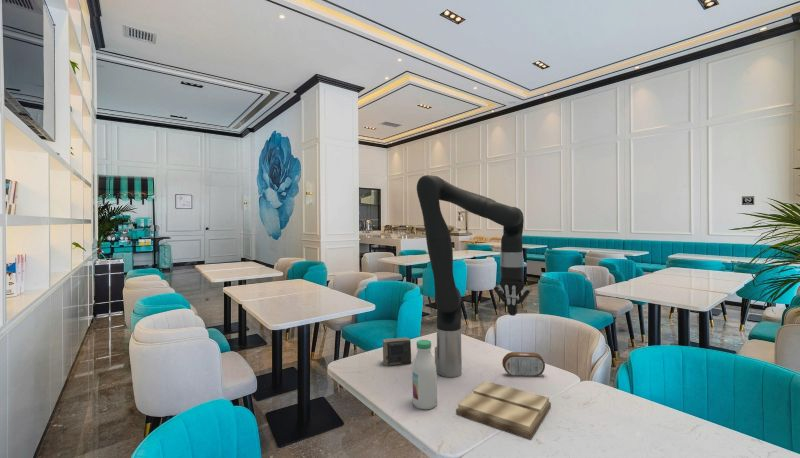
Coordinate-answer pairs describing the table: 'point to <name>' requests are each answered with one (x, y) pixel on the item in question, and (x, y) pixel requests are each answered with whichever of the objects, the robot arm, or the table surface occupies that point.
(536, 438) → the table surface
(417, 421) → the table surface
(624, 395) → the table surface
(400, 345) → the camera
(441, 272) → the robot arm
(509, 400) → the oak plank
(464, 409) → the floor board
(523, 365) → the tin
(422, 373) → the milk bottle
